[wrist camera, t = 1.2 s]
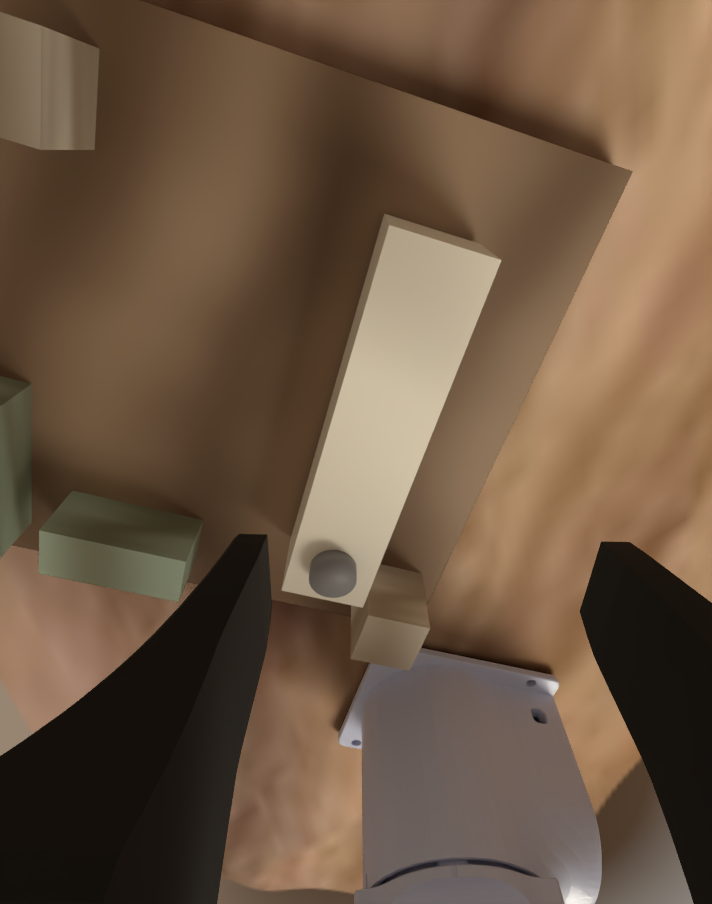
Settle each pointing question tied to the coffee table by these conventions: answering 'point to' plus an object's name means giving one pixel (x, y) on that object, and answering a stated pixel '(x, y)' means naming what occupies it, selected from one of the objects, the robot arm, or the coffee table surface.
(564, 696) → the coffee table surface
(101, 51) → the board
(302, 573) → the leg
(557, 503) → the coffee table surface
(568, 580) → the coffee table surface
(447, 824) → the robot arm
